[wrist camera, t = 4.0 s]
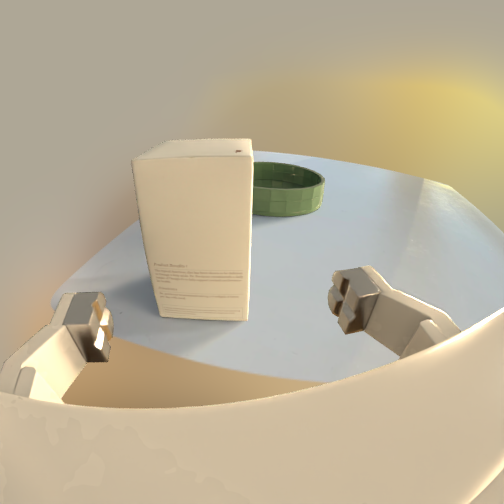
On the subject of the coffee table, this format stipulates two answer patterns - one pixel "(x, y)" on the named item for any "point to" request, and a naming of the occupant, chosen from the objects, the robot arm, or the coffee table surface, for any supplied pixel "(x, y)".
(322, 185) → the bowl
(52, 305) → the coffee table surface
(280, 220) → the coffee table surface
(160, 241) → the white packaging box
